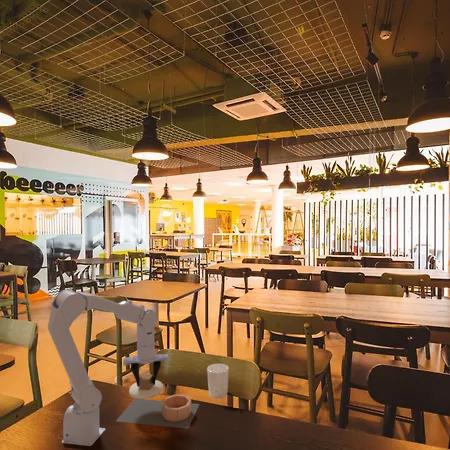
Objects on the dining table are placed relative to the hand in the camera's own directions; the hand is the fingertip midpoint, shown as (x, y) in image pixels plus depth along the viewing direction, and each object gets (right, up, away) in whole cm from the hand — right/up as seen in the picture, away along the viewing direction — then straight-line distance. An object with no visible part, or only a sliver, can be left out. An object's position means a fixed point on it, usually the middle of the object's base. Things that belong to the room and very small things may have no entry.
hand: (146, 384), depth 110 cm
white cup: (+24, -9, +11) cm, 28 cm away
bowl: (+10, -9, -2) cm, 14 cm away
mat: (+5, -9, -1) cm, 10 cm away
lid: (0, -2, 0) cm, 2 cm away
